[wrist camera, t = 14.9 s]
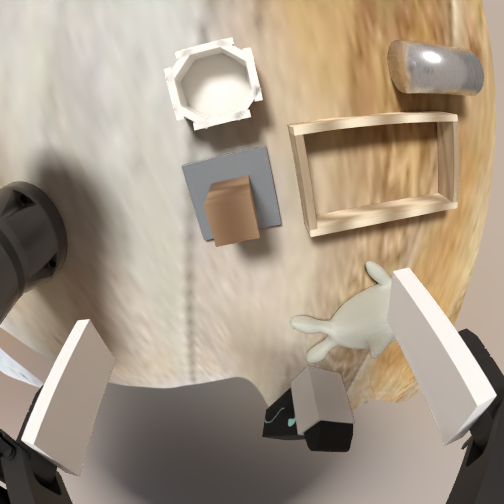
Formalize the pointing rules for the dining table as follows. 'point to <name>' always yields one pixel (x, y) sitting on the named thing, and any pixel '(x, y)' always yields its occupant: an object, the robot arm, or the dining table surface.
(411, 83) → the lying tin can
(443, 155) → the birch crate
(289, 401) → the decorative object
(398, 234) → the dining table surface
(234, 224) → the walnut block
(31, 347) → the dining table surface
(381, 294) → the toy
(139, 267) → the dining table surface
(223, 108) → the ramekin
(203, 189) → the slate coaster
